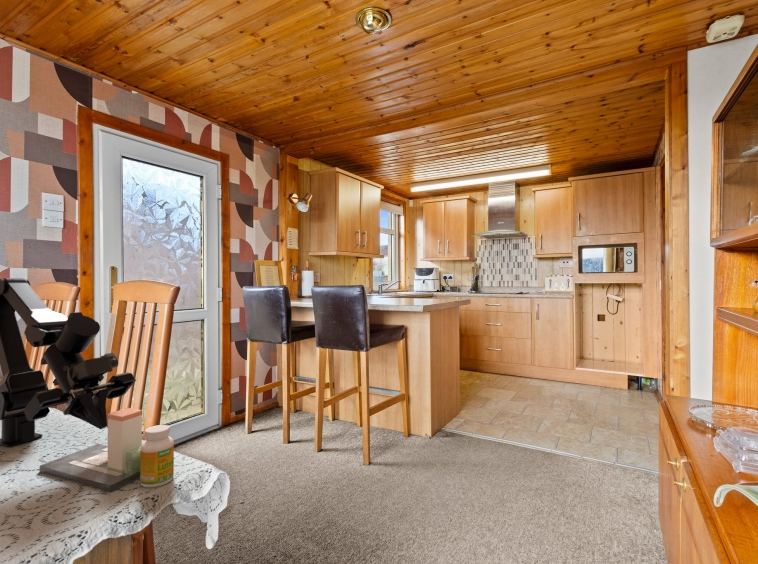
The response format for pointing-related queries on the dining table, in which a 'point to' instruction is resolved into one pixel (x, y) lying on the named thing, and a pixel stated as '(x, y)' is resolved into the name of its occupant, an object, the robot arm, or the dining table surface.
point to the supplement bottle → (157, 457)
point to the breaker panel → (95, 468)
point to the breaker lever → (123, 435)
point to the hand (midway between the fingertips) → (104, 427)
